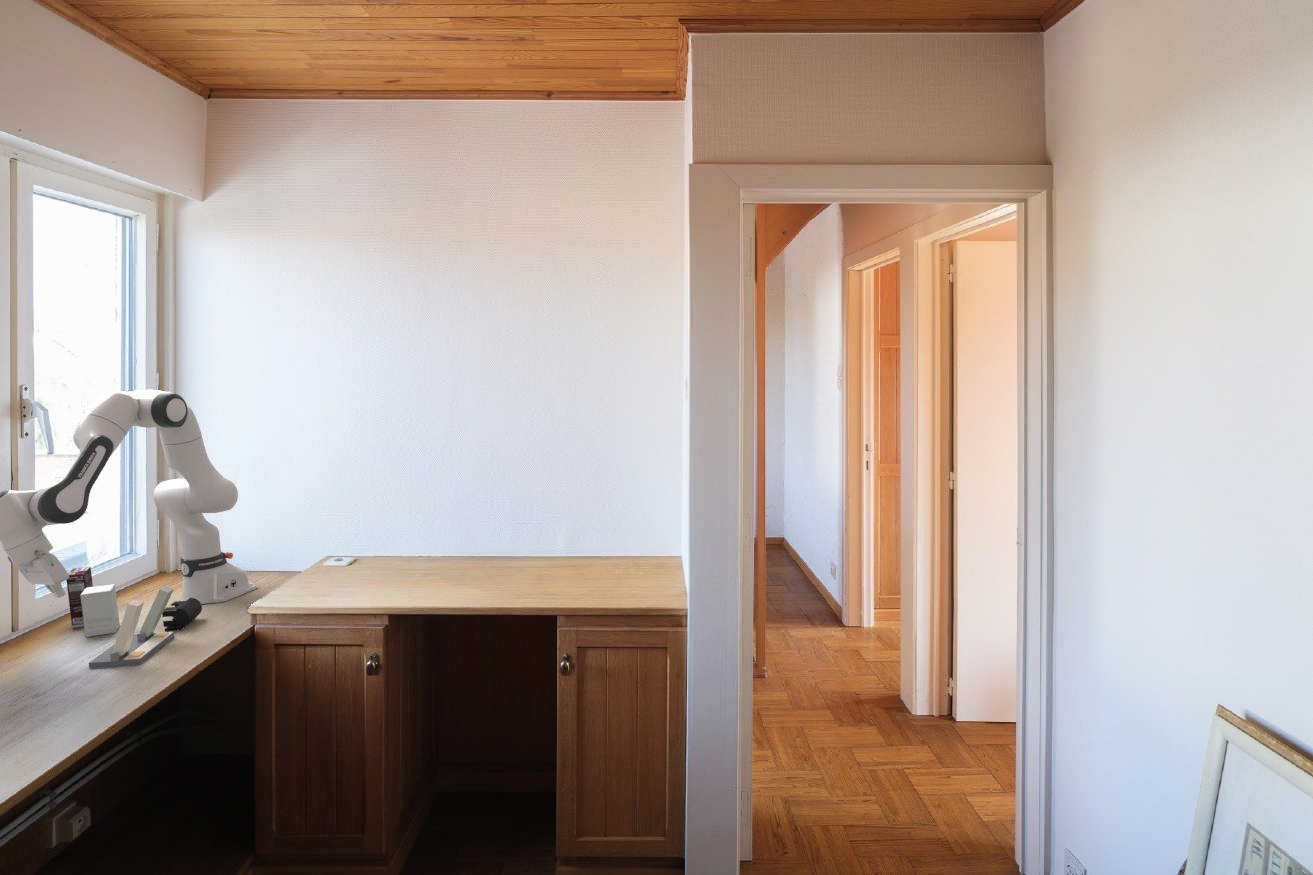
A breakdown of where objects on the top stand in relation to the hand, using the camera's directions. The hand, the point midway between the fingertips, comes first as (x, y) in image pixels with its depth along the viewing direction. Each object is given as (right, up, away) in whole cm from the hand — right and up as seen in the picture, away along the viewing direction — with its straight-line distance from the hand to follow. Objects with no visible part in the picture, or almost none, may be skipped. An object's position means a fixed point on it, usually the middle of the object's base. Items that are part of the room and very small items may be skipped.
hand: (60, 596), depth 214 cm
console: (+16, -16, +5) cm, 23 cm away
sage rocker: (+15, -13, +11) cm, 23 cm away
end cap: (+18, -14, +25) cm, 34 cm away
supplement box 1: (-14, -14, +29) cm, 35 cm away
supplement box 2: (-4, -14, +21) cm, 26 cm away
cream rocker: (+17, -14, -2) cm, 22 cm away
